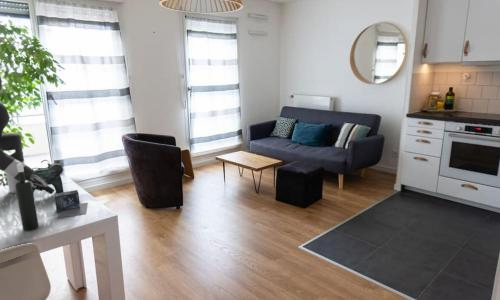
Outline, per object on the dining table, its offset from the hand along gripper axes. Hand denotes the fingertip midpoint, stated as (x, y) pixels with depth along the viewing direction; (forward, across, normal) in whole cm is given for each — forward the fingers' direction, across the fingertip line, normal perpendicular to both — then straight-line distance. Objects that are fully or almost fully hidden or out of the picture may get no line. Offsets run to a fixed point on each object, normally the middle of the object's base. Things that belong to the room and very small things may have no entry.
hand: (53, 192), depth 160 cm
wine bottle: (+2, -15, +13) cm, 20 cm away
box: (+4, +1, +4) cm, 6 cm away
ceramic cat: (+2, +25, +13) cm, 28 cm away
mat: (+13, -1, +2) cm, 13 cm away
